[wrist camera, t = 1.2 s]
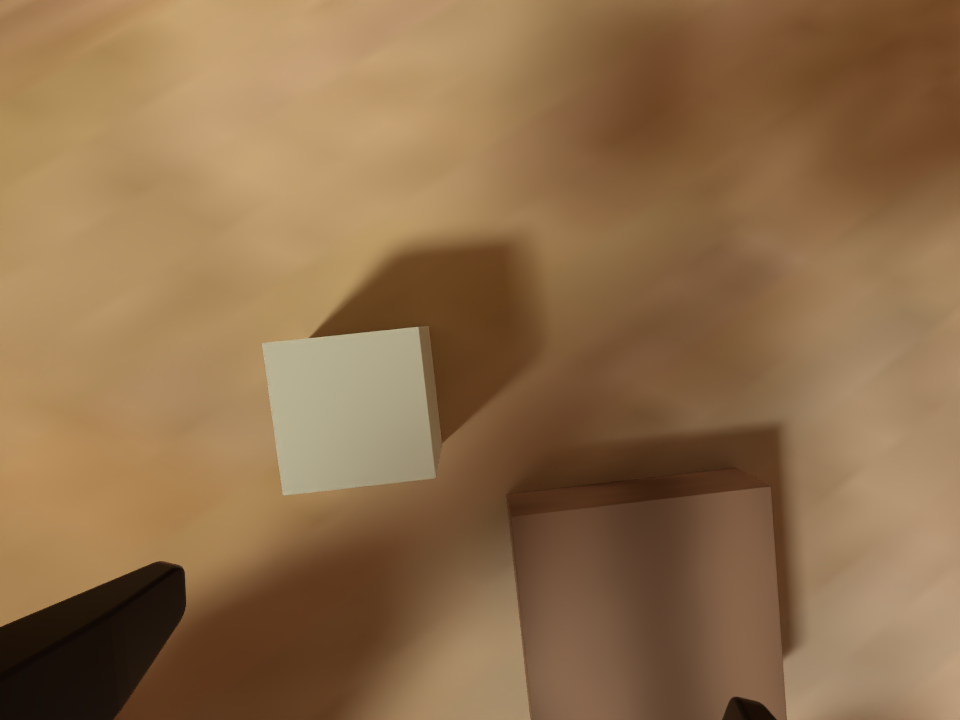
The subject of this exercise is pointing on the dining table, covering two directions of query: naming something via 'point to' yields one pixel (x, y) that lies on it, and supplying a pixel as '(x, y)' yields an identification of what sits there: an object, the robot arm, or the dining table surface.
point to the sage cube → (354, 409)
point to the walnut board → (648, 597)
